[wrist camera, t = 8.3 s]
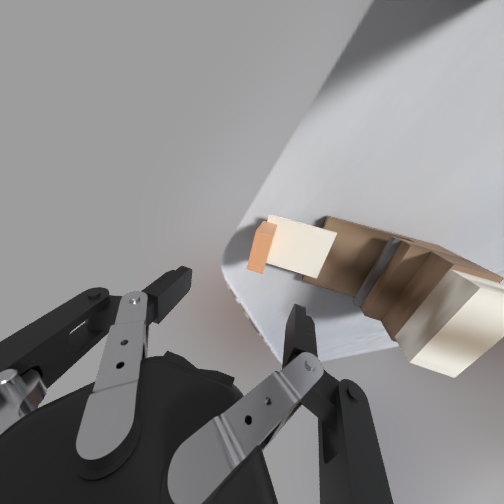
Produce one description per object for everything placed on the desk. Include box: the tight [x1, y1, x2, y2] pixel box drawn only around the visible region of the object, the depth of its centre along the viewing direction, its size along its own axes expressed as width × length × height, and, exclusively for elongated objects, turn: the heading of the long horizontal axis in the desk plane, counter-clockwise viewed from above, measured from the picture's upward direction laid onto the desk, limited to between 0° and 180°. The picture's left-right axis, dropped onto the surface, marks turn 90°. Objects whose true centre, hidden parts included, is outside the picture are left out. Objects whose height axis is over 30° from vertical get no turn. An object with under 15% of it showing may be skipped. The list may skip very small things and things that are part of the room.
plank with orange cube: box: [247, 214, 337, 278], centre depth 23 cm, size 7×10×6 cm
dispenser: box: [302, 216, 504, 378], centre depth 21 cm, size 10×14×11 cm
